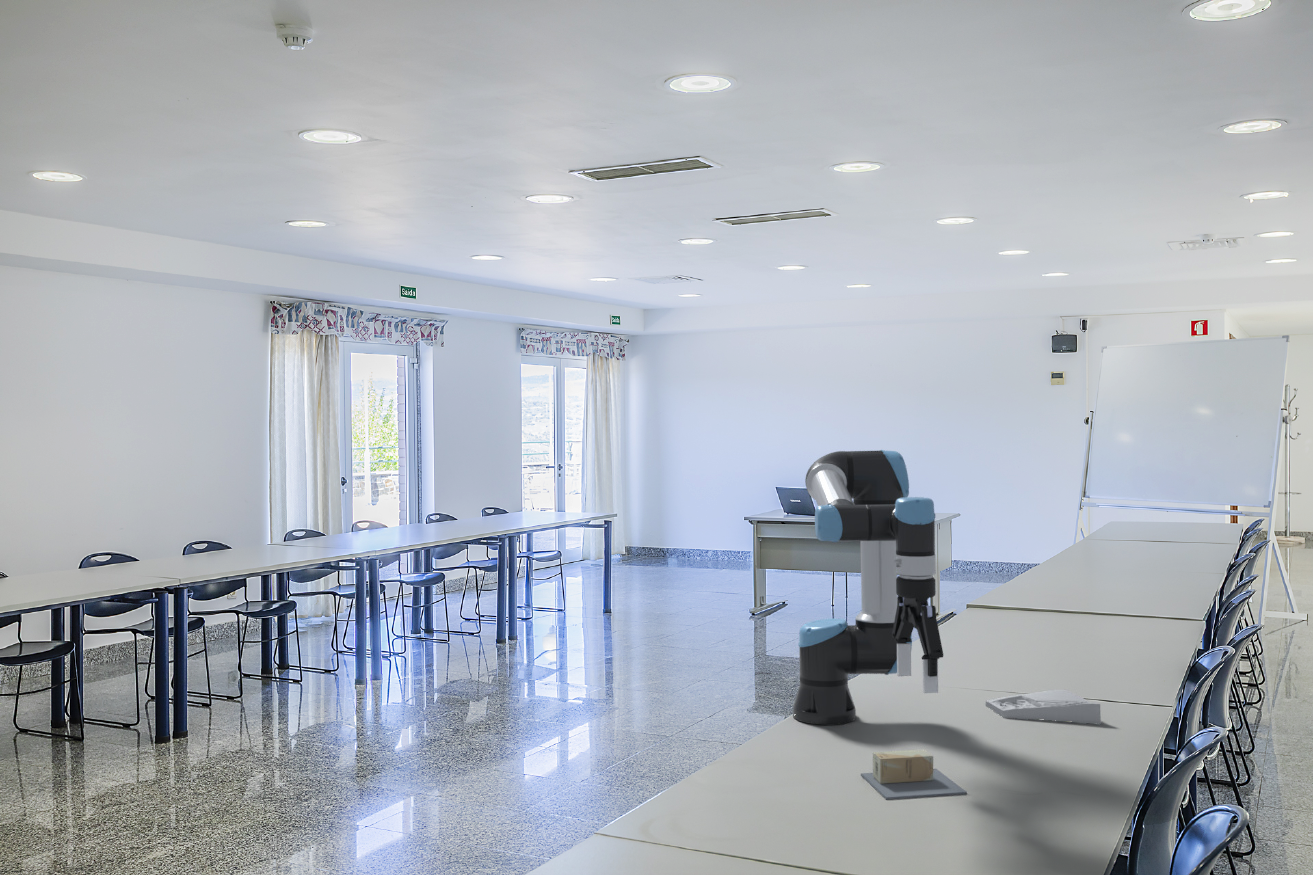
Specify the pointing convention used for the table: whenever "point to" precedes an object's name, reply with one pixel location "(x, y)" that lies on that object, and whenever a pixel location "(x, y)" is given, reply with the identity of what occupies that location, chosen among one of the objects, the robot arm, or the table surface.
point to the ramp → (1047, 707)
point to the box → (902, 766)
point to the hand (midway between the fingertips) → (917, 683)
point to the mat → (916, 787)
